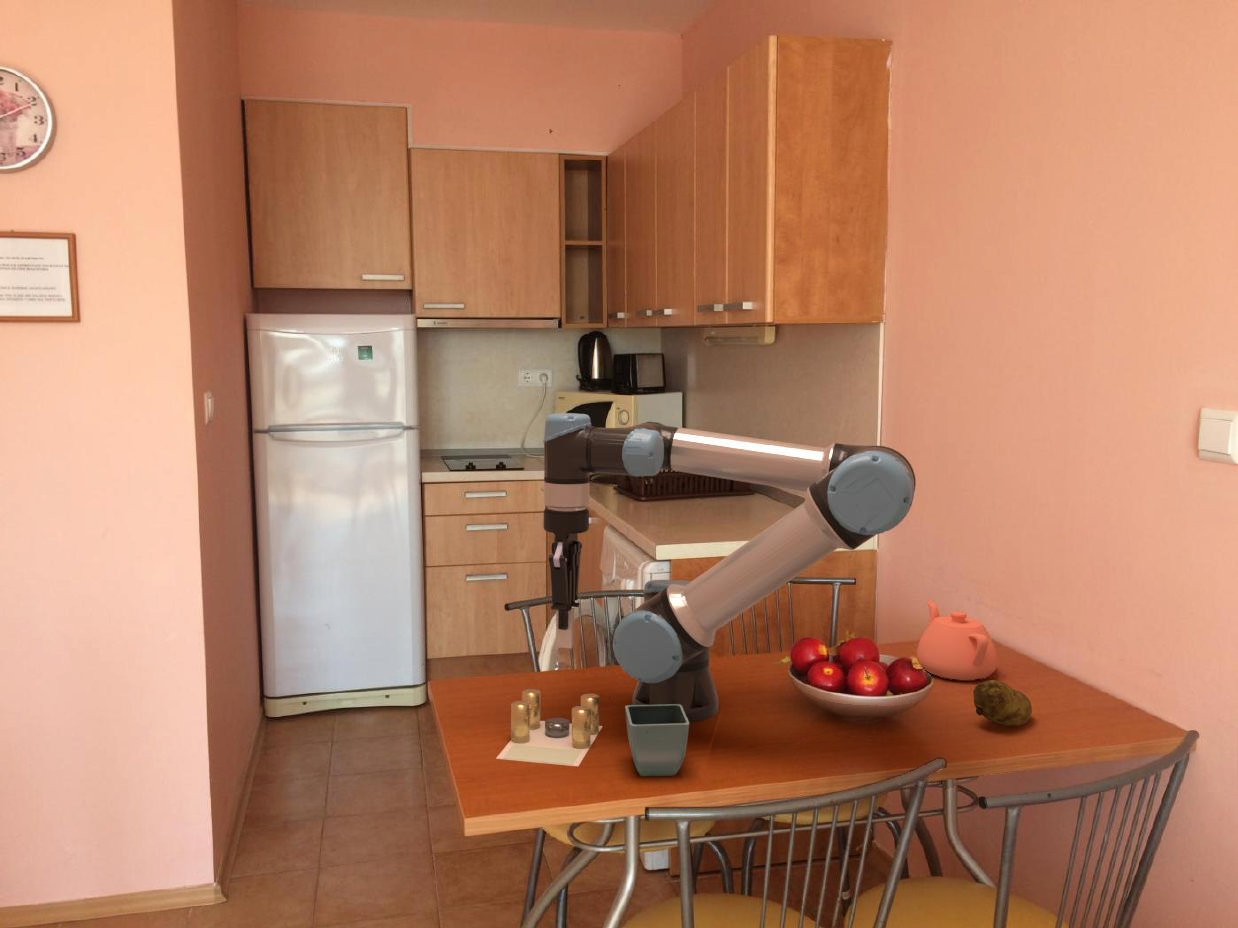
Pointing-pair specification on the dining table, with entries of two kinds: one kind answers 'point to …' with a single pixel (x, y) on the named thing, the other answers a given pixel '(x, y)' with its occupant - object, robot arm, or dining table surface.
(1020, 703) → the potato
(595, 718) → the cylinder
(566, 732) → the dark metal puck
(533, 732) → the board
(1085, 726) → the dining table surface
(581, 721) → the cylinder
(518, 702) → the cylinder
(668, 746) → the flower pot
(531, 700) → the cylinder
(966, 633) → the teapot
